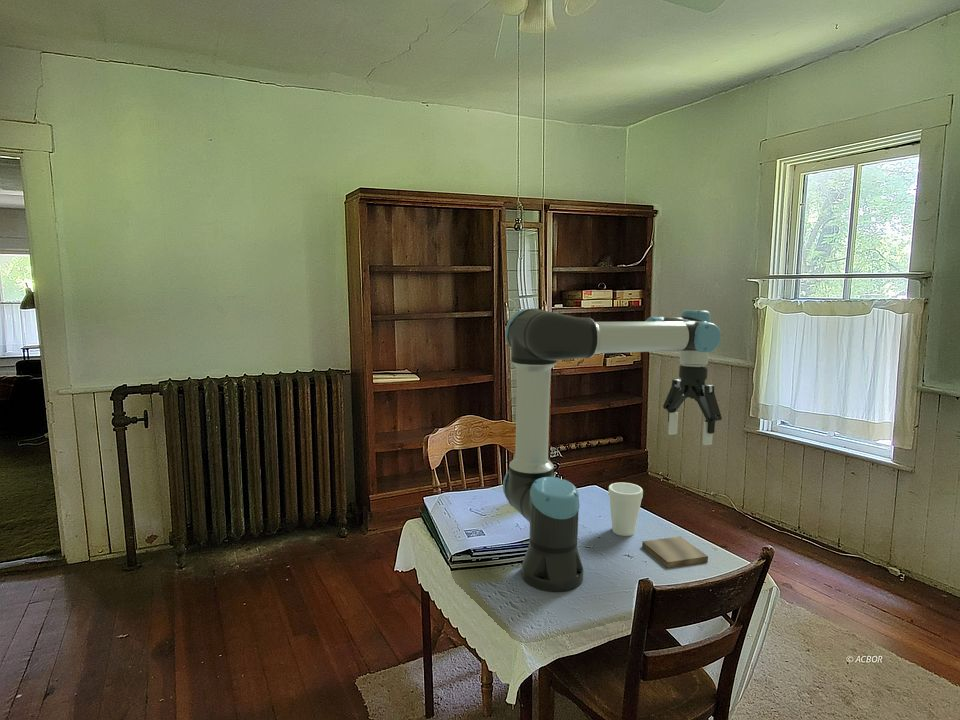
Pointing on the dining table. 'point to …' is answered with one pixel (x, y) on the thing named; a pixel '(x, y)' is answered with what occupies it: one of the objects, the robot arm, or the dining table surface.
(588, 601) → the dining table surface
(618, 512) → the foam cup
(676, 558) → the walnut coaster
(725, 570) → the dining table surface
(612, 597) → the dining table surface
